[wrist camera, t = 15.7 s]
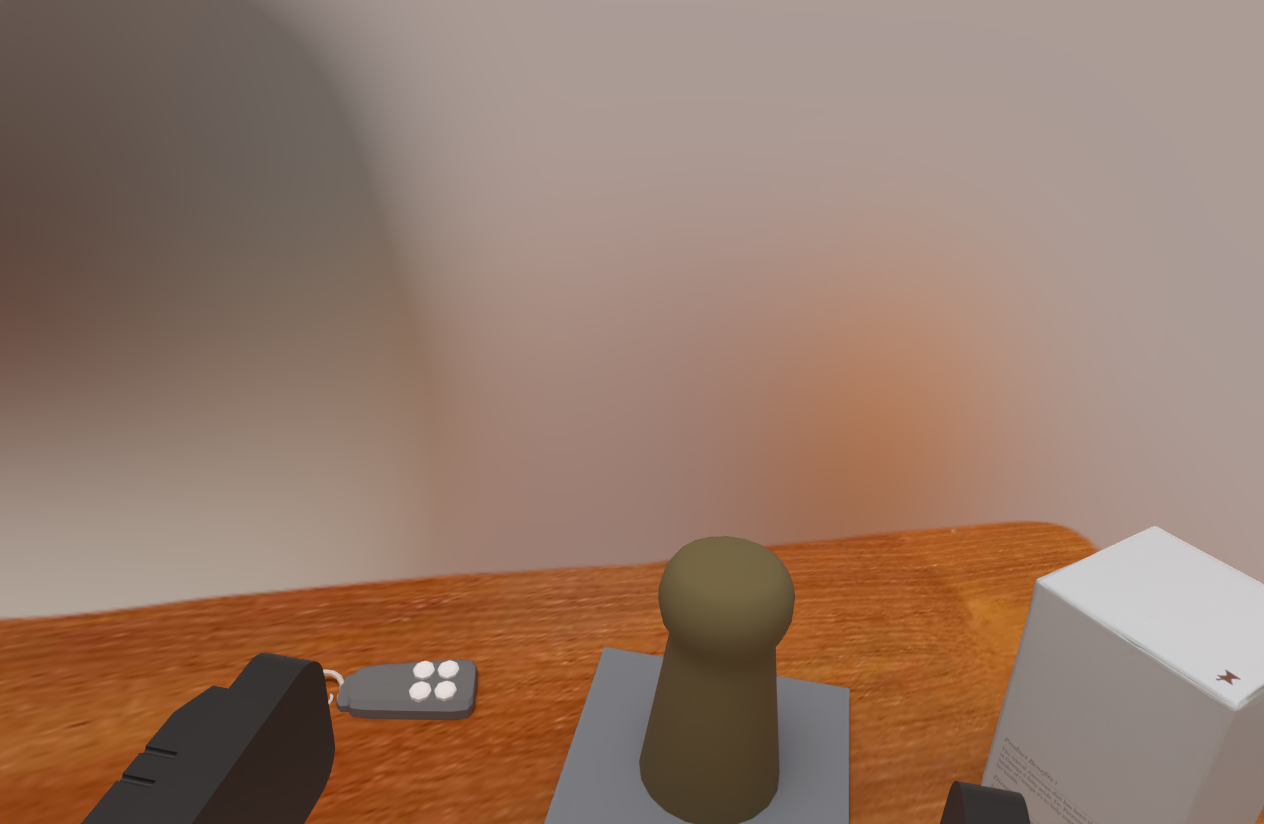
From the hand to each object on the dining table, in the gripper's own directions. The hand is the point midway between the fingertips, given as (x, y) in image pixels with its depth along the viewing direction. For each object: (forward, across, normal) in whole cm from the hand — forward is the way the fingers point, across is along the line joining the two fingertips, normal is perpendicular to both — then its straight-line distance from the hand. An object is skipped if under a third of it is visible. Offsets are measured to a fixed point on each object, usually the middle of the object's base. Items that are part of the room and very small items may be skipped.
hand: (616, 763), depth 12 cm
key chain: (+21, +17, +25) cm, 37 cm away
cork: (+20, 0, +23) cm, 31 cm away
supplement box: (+21, -16, +24) cm, 35 cm away
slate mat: (+21, 0, +24) cm, 31 cm away
